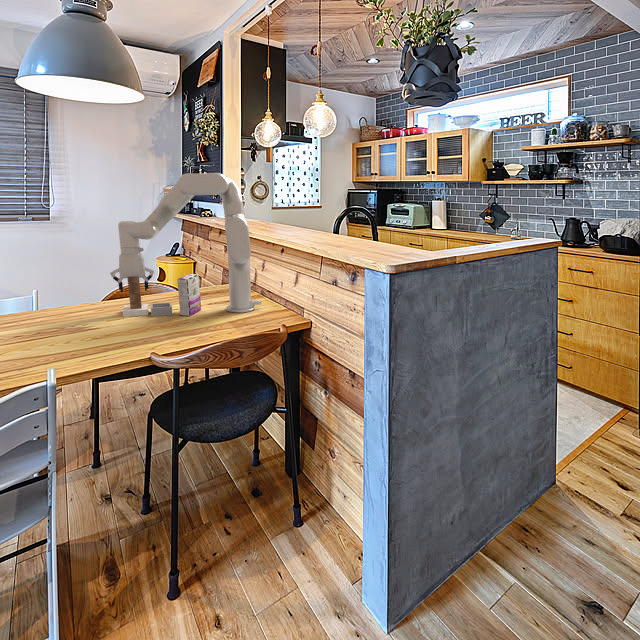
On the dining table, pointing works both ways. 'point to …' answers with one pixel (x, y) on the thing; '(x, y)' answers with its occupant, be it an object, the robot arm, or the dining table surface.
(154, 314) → the pocket
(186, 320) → the dining table surface
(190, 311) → the candy bar box
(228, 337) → the dining table surface
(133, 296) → the walnut block
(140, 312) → the thin white tile
